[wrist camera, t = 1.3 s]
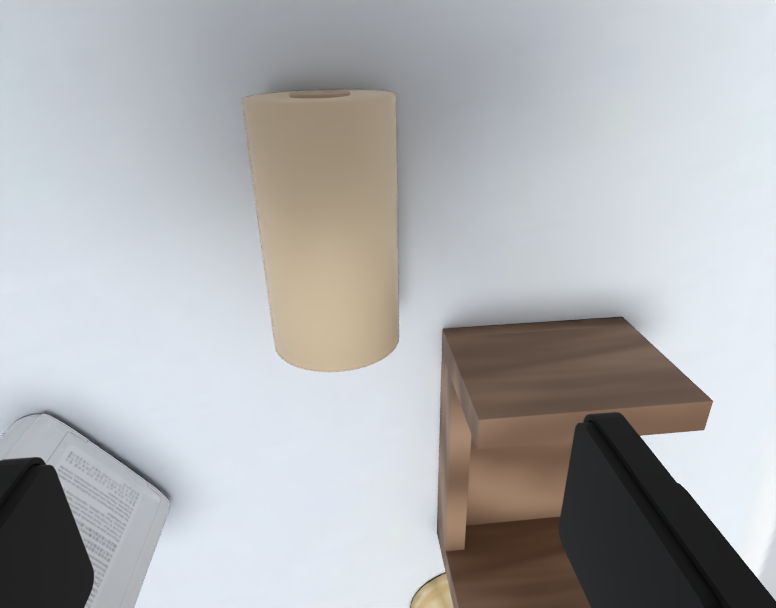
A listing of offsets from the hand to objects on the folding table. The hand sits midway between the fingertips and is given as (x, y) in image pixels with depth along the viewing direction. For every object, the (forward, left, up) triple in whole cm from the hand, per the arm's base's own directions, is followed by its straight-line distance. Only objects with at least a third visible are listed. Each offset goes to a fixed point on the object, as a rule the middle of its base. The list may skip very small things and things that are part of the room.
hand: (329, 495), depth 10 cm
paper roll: (0, 0, -18) cm, 18 cm away
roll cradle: (+15, +11, -18) cm, 26 cm away
